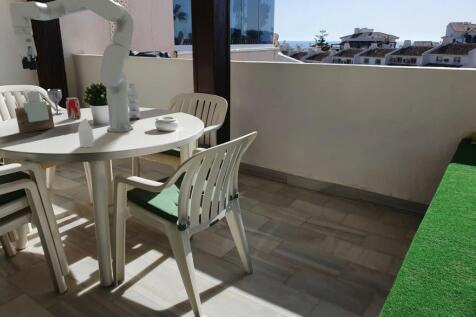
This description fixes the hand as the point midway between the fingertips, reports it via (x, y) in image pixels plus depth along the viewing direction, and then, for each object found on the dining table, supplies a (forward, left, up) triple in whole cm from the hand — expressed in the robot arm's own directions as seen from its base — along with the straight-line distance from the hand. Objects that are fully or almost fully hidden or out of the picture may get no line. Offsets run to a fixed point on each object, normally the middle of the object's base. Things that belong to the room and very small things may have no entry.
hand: (30, 69), depth 169 cm
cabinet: (0, +1, -25) cm, 25 cm away
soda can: (+19, -25, -31) cm, 44 cm away
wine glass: (+40, -23, -31) cm, 55 cm away
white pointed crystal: (-44, -5, -31) cm, 54 cm away
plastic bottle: (-6, -50, -31) cm, 58 cm away
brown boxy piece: (+6, 0, -30) cm, 31 cm away
